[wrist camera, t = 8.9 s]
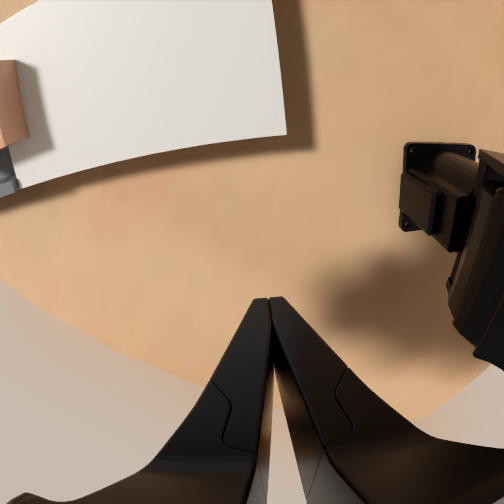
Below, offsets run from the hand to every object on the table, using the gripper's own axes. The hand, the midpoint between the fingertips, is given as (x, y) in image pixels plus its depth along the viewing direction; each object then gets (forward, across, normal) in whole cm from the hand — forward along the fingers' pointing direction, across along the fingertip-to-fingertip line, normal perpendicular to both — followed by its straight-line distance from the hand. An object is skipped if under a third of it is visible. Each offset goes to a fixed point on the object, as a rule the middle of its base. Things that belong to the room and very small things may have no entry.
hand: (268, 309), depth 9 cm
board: (+12, +6, -8) cm, 16 cm away
